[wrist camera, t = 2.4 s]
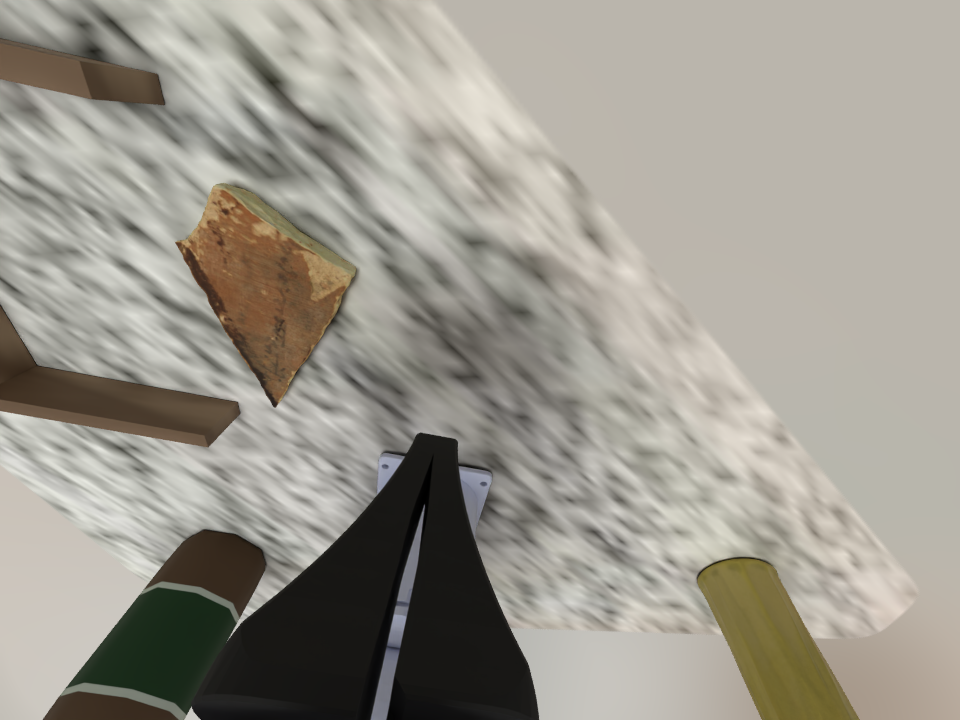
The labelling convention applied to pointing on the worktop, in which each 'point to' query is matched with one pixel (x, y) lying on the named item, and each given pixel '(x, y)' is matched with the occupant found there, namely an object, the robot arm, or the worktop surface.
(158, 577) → the beer bottle
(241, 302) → the shard
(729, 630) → the olive green rod
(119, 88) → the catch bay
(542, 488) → the worktop surface
